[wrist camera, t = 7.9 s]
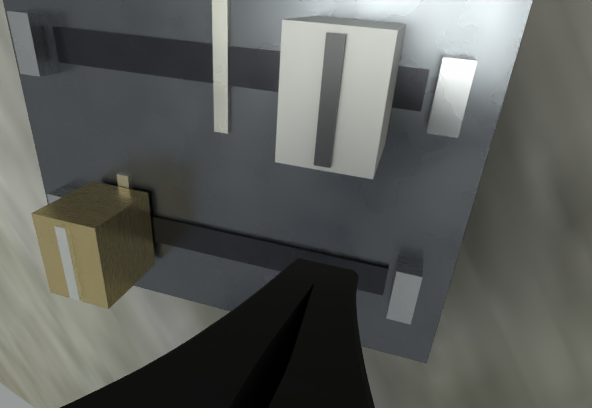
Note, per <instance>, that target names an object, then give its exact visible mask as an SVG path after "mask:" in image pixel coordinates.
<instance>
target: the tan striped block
mask: <svg viewBox="0 0 592 408" xmlns="http://www.w3.org/2000/svg"><path fill="white" fill-rule="evenodd" d="M31 214H32V218H33V222H34V226H35V230H36V234H37V238H38V242H39V247H40V251H41V255H42V259H43V263H44V267H45V271H46V275H47V279H48V283H49V288H50V292H51V293H54V294H58V295H61V296H65V297H68V298H71V299H74V300H78V301H83V302H86V303H90V304H93V305H97V306H100V307H104V308H107V309H109V308H110V307H111V306H112V305H113V304H114V303H115V302H116V301H117V300H118V299H119V298H121V297H122V296H123V295H124V294H125V293H126V292H127V291H128V290H129V289H130V288H131V287H132V286H133V285H134V284H135V283H136V282H137V281H139V280H140V279H141V278H142V277H143V276H144V275H145V274H146V273H147V272H148V271H149V270H150V269H151V268H152V267H153V266H154V265H155V257H154V247H153V237H152V227H151V217H150V207H149V197H148V193H147V192H142V191H137V190H132V189H128V188H123V187H118V186H113V185H108V184H104V183H99V182H94V181H92V182H90V183H88V184H86V185H84V186H83V187H81V188H79V189H77V190H75V191H73V192H71V193H69V194H67V195H65V196H63V197H62V198H60V199H58V200H56V201H54V202H52V203H50V204H48V205H46V206H44V207H43V208H41V209H39V210H37V211H35V212H33V213H31Z"/></svg>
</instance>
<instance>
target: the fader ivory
mask: <svg viewBox="0 0 592 408" xmlns="http://www.w3.org/2000/svg"><path fill="white" fill-rule="evenodd" d="M405 27H406V24H401V23H390V22H379V21H368V20H357V19H346V18H335V17H324V16H308V17H299V18H290V19H282V32H281V52H280V72H279V92H278V111H277V131H276V151H275V162H276V163H282V164H288V165H294V166H299V167H305V168H311V169H316V170H322V171H328V172H334V173H339V174H345V175H351V176H356V177H362V178H368V179H373V178H374V175H375V172H376V169H377V167H378V164H379V161H380V158H381V155H382V152H383V149H384V146H385V142H386V136H387V131H388V125H389V119H390V113H391V108H392V102H393V96H394V90H395V85H396V79H397V73H398V67H399V61H400V56H401V50H402V44H403V38H404V33H405Z"/></svg>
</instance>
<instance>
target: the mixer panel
mask: <svg viewBox="0 0 592 408" xmlns="http://www.w3.org/2000/svg"><path fill="white" fill-rule="evenodd" d="M532 1H533V0H3V3H4V8H5V12H6V17H7V21H8V26H9V30H10V35H11V39H12V44H13V48H14V53H15V57H16V62H17V66H18V71H19V75H20V80H21V84H22V89H23V93H24V98H25V103H26V107H27V112H28V116H29V121H30V125H31V130H32V134H33V139H34V143H35V148H36V152H37V157H38V161H39V166H40V170H41V175H42V179H43V184H44V188H45V193H46V197H47V202H48V204H50V203H52V202H54V201H56V200H58V199H60V198H62V197H63V196H65V195H67V194H69V193H71V192H73V191H75V190H77V189H79V188H81V187H83V186H84V185H86V184H88V183H90V182H92V181H94V182H99V183H104V184H108V185H113V186H118V187H123V188H128V189H132V190H137V191H142V192H147V193H148V197H149V207H150V217H151V227H152V237H153V247H154V257H155V265H154V266H153V267H152V268H151V269H150V270H149V271H148V272H147V273H146V274H145V275H144V276H143V277H142V278H141V279H140V280H139V281H137V282H136V283H135V284H134V286H138V287H141V288H145V289H149V290H153V291H156V292H160V293H164V294H168V295H172V296H175V297H179V298H183V299H187V300H190V301H194V302H198V303H202V304H205V305H209V306H213V307H217V308H220V309H224V310H228V311H232V310H233V309H235V308H236V307H237V306H239V305H240V304H241V303H243V302H244V301H245V300H246V299H248V298H249V297H250V296H252V295H253V294H254V293H256V292H257V291H258V290H259V289H261V288H262V287H263V286H264V285H266V284H267V283H268V282H269V281H271V280H272V279H273V278H274V277H275V276H276V275H278V274H279V273H280V272H281V271H282V270H284V269H285V268H286V267H287V266H288V265H289V264H291V263H292V262H293V261H295V260H296V259H298V258H300V259H305V260H310V261H314V262H319V263H323V264H328V265H333V266H337V267H342V268H346V269H351V270H355V272H356V273H357V274H358V275H359V280H358V286H357V293H356V305H357V320H358V328H359V335H360V341H361V346H363V347H367V348H371V349H375V350H378V351H382V352H386V353H390V354H393V355H397V356H401V357H405V358H409V359H412V360H416V361H420V362H424V363H427V360H428V357H429V353H430V350H431V346H432V343H433V340H434V336H435V333H436V329H437V326H438V323H439V319H440V316H441V312H442V309H443V305H444V302H445V299H446V295H447V292H448V288H449V285H450V281H451V278H452V275H453V271H454V268H455V264H456V261H457V258H458V254H459V251H460V247H461V244H462V240H463V237H464V234H465V230H466V227H467V223H468V220H469V216H470V213H471V210H472V206H473V203H474V199H475V196H476V193H477V189H478V186H479V182H480V179H481V175H482V172H483V169H484V165H485V162H486V158H487V155H488V152H489V148H490V145H491V141H492V138H493V134H494V131H495V128H496V124H497V121H498V117H499V114H500V110H501V107H502V104H503V100H504V97H505V93H506V90H507V87H508V83H509V80H510V76H511V73H512V69H513V66H514V63H515V59H516V56H517V52H518V49H519V45H520V42H521V39H522V35H523V32H524V28H525V25H526V22H527V18H528V15H529V11H530V8H531V4H532ZM308 16H324V17H335V18H346V19H357V20H368V21H379V22H390V23H401V24H406V27H405V33H404V38H403V44H402V50H401V56H400V61H399V67H398V73H397V79H396V85H395V90H394V96H393V102H392V108H391V113H390V119H389V125H388V131H387V136H386V142H385V146H384V149H383V152H382V155H381V158H380V161H379V164H378V167H377V169H376V172H375V175H374V178H373V179H368V178H362V177H356V176H351V175H345V174H339V173H334V172H328V171H322V170H316V169H311V168H305V167H299V166H294V165H288V164H282V163H276V162H275V151H276V131H277V111H278V92H279V72H280V52H281V32H282V19H290V18H299V17H308Z"/></svg>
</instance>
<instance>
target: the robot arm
mask: <svg viewBox="0 0 592 408" xmlns="http://www.w3.org/2000/svg"><path fill="white" fill-rule="evenodd" d="M358 280H359V275H358V274H357V273H356V272H355V270H351V269H346V268H342V267H337V266H333V265H328V264H323V263H319V262H314V261H310V260H305V259H300V258H298V259H296V260H295V261H293V262H292V263H291V264H289V265H288V266H287V267H286V268H285V269H284V270H282V271H281V272H280V273H279V274H278V275H276V276H275V277H274V278H273V279H272V280H271V281H269V282H268V283H267V284H266V285H264V286H263V287H262V288H261V289H259V290H258V291H257V292H256V293H254V294H253V295H252V296H250V297H249V298H248V299H246V300H245V301H244V302H243V303H241V304H240V305H239V306H237V307H236V308H235V309H233V310H232V311H231V312H229V313H228V314H227V315H225V316H224V317H222V318H221V319H219V320H218V321H216V322H215V323H213V324H212V325H210V326H209V327H208V328H206V329H205V330H203V331H202V332H200V333H199V334H197V335H196V336H194V337H193V338H191V339H190V340H188V341H186V342H185V343H183V344H182V345H180V346H178V347H177V348H175V349H174V350H172V351H170V352H169V353H167V354H165V355H163V356H162V357H160V358H158V359H156V360H155V361H153V362H151V363H149V364H148V365H146V366H144V367H142V368H140V369H139V370H137V371H135V372H133V373H131V374H129V375H127V376H125V377H123V378H121V379H119V380H117V381H115V382H113V383H111V384H109V385H107V386H105V387H103V388H101V389H99V390H97V391H94V392H92V393H90V394H88V395H86V396H84V397H82V398H80V399H78V400H76V401H74V402H72V403H69V404H67V405H65V406H63V407H60V408H375V407H374V403H373V399H372V395H371V391H370V387H369V382H368V378H367V374H366V369H365V364H364V359H363V354H362V348H361V341H360V335H359V328H358V320H357V305H356V293H357V286H358Z"/></svg>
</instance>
